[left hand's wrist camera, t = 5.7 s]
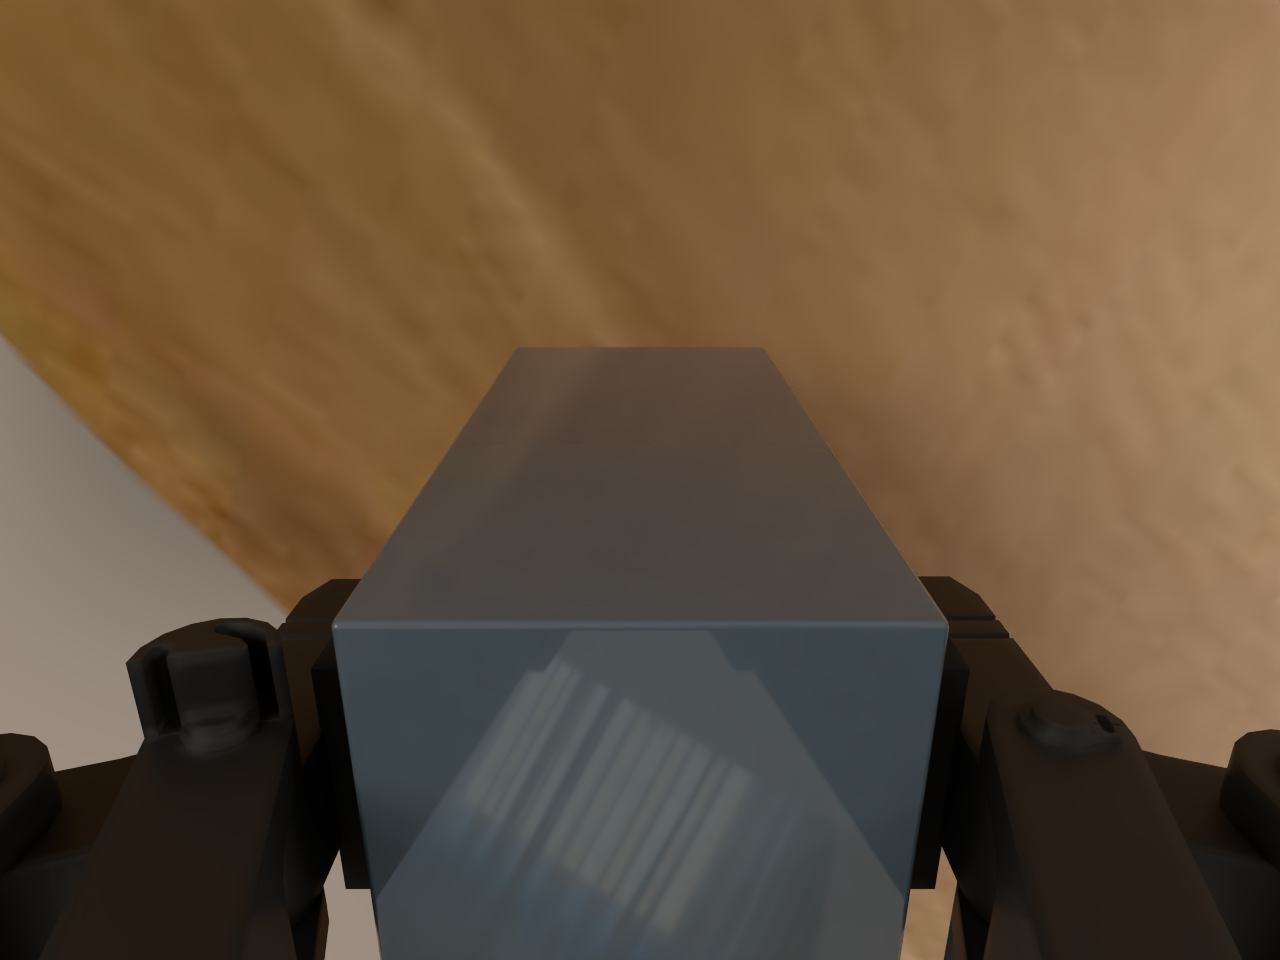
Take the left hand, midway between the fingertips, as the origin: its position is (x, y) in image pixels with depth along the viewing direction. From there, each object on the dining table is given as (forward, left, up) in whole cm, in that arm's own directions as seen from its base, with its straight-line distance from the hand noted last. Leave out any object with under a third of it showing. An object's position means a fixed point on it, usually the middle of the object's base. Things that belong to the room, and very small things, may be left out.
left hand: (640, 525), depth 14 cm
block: (0, 0, -3) cm, 3 cm away
